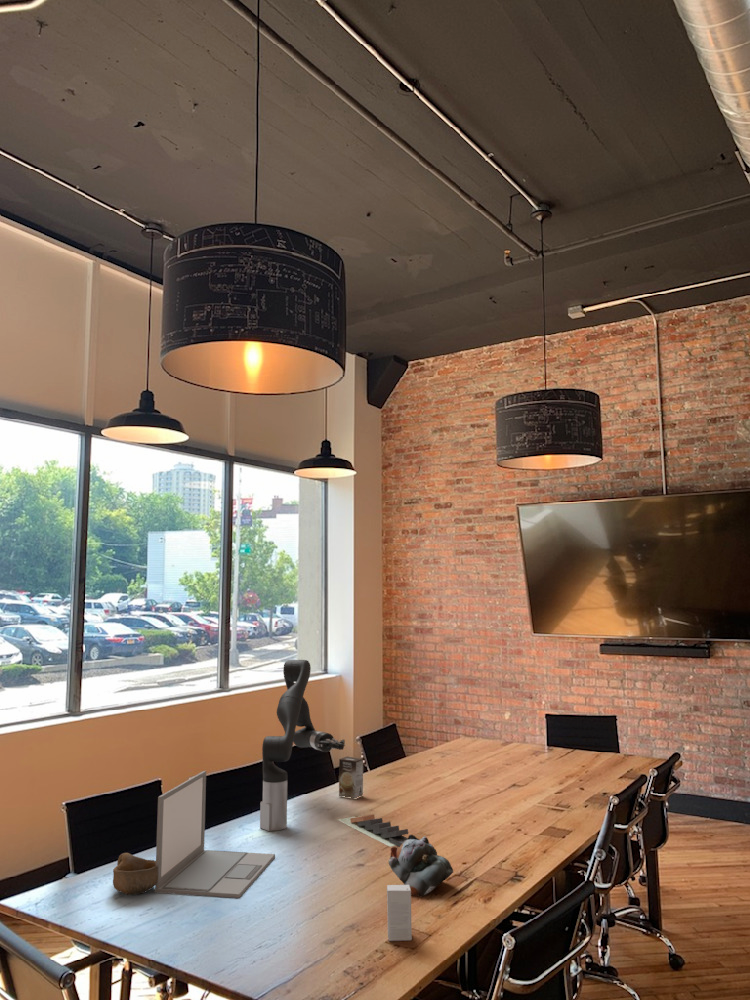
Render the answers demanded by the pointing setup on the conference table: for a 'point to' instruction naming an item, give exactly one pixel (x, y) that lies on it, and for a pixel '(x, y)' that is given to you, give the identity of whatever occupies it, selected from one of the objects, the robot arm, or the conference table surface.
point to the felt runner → (366, 831)
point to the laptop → (198, 849)
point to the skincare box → (399, 912)
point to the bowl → (134, 874)
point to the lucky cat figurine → (419, 865)
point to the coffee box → (350, 777)
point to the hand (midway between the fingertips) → (341, 746)
